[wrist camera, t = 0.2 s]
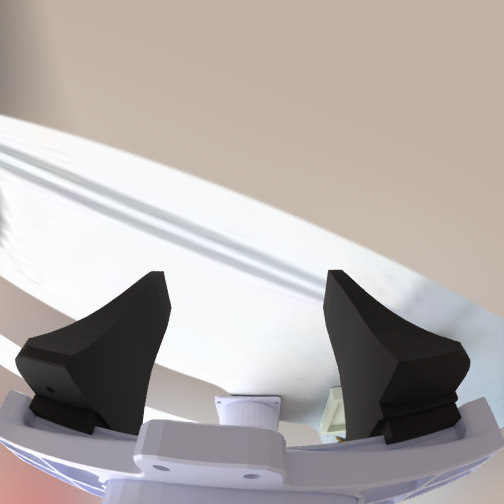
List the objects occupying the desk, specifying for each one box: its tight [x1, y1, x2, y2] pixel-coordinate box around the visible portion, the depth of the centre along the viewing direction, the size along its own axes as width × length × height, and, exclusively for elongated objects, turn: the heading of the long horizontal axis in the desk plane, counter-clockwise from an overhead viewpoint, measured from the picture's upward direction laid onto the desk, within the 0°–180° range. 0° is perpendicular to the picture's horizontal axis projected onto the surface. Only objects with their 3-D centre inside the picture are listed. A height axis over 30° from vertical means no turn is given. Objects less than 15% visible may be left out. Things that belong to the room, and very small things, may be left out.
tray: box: [319, 387, 346, 435], centre depth 33 cm, size 10×11×2 cm
